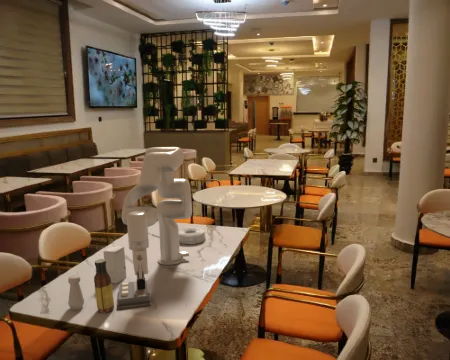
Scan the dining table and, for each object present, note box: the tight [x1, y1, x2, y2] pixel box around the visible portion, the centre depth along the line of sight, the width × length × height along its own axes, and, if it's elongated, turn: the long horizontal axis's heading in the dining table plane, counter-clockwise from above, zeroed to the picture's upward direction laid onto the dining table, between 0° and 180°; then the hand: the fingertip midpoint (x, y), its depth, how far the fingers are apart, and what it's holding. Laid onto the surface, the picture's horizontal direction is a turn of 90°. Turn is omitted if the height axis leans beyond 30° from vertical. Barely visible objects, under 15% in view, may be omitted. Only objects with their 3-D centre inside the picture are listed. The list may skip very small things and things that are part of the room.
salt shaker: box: [67, 274, 85, 312], centre depth 151 cm, size 6×6×13 cm
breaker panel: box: [118, 279, 151, 305], centre depth 161 cm, size 12×15×4 cm
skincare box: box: [103, 245, 127, 285], centre depth 176 cm, size 8×6×15 cm
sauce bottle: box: [93, 258, 115, 313], centre depth 149 cm, size 6×6×20 cm
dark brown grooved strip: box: [117, 300, 151, 310], centre depth 152 cm, size 12×2×1 cm, turn 103°
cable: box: [179, 227, 207, 245], centre depth 230 cm, size 18×18×6 cm
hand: (141, 288), depth 153 cm, fingers closed
